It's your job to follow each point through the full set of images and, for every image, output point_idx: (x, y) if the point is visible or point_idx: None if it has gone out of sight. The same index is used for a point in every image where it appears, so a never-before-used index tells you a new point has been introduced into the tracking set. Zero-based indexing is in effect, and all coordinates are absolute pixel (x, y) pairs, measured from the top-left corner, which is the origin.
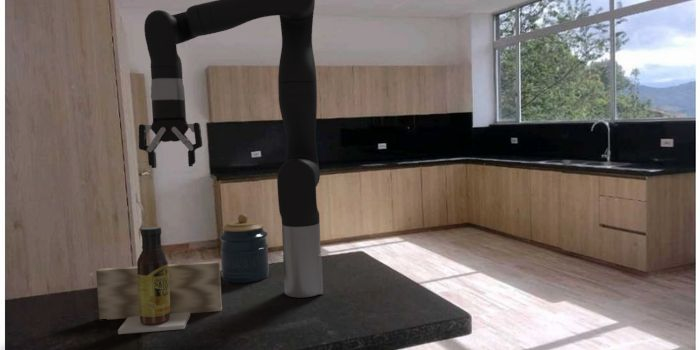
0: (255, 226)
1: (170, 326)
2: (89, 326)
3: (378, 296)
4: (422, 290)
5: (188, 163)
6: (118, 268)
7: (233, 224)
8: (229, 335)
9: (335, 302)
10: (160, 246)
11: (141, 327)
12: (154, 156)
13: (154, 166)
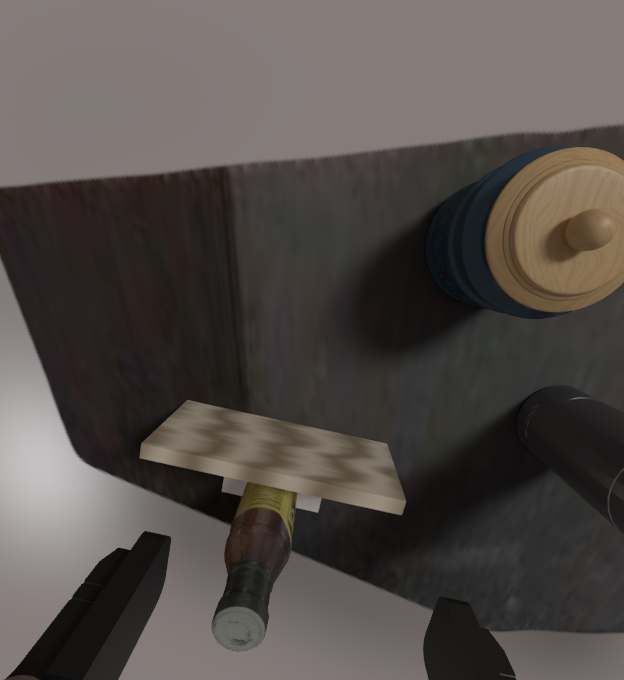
0: (600, 293)
1: (297, 507)
2: None
3: None
4: None
5: (428, 675)
6: (185, 460)
7: (531, 262)
8: (377, 557)
9: (580, 497)
10: (270, 592)
11: None
12: (108, 676)
13: (157, 600)
